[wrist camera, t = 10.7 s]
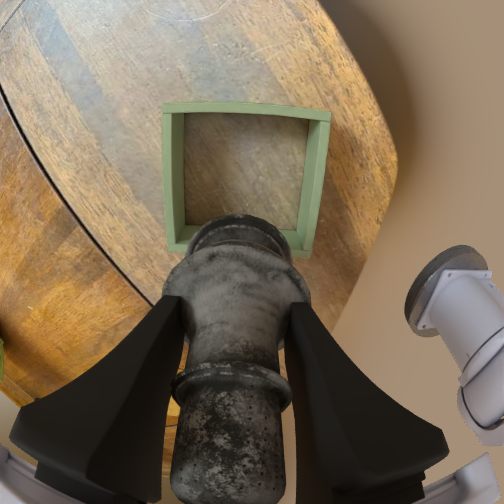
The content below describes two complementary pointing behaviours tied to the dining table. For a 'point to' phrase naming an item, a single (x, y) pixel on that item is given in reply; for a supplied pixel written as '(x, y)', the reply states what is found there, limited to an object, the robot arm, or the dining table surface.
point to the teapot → (1, 360)
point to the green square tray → (318, 122)
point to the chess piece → (233, 362)
